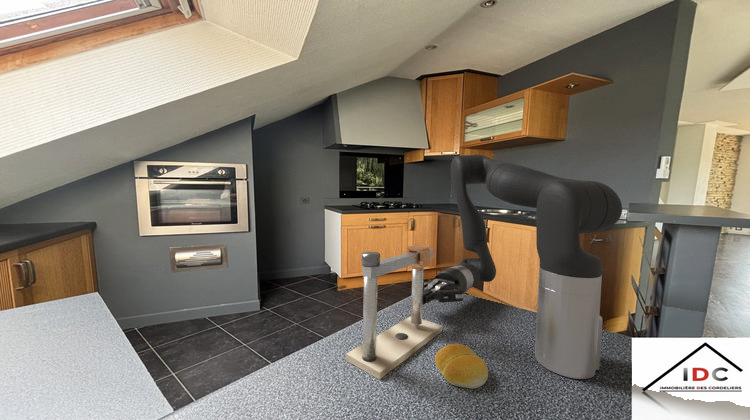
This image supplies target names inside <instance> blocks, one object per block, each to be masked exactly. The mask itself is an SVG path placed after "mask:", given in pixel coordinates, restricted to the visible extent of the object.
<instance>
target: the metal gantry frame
mask: <svg viewBox="0 0 750 420" xmlns="http://www.w3.org/2000/svg"><path fill="white" fill-rule="evenodd" d="M429 249H430V260H431V259H434V248H430V247H429ZM419 262H420V252H419V251H412V252H409V253H407V252H405V253H402V254H398V255H394V256H391V257H388V258H383V259H381V253H380V252H377V251H364V252H362V253H361V267H362V277H363V304H362V305H363V310H362V311H363V315H362V316H363V317H362V319H363V320H362V321H363V322H362V326H363V327H362V336H363V337H362V344H363V359H364V360H366V361H373V360H375V359H376V339H377V335H378V334H377V332H378V331H377V330H378V329H377V327H378V326H377V324H378V277H380V276H383V275H386V274H389V273H392V272H395V271H398V270H401V269H404V268H408V267H410V265H413V264H416V263H419Z"/></svg>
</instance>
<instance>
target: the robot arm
mask: <svg viewBox="0 0 750 420" xmlns="http://www.w3.org/2000/svg"><path fill="white" fill-rule="evenodd" d="M450 177H451V183H452V186H453V187H452V188H453V190H454V195H455V199H456V204H457V208H458V211H459V217H460V223H461V232H462V242H463V243H462V244H463V248H464V250H466V251H469V252H472V253H475V254H476V255H477V256H478V257H477V258H476V257H474V258H473V257H467V258H463V259H462V260H461V261H460V262H459V264H458V265H454V266H451V267H449V268H445V269H444V270H441V271H440V272H438V273H437V274H436V275H434V278H433V279H429V280H428V281H426V282H425V281H424V280H423V306H424V305H425V304H428V303H431V302H436V301H438V303H454V302H457V303H458V302H464V294H466V293H467V292H468V291H469V290H471V289H472V288H473V287H474V286H476V285H477V284H478V283H479V282H482V283H484V282H485V283H490V282H492V281H493V280H494V279H495V278H496V275H497V268H496V264H495V261H494V260H493V257H492V254H491V251H490V248H489V246H488V240H487V228H486V223H485V220H484V218H483V216H482V215H481V213H480V211H479V210H478V209H477V208H476V206H475V205H474V203H473V202H472V199H471V198H470V196H469V193H468V190H467V185H479V184H480V185H481V184H482V185H483V184H485V185H486V189H487V191H488V192H489V193H490V194H491V195H492V196H493V197H494V198H497V199H499V200H501V201H503V202H505V203H509V204H510V205H515V206H519V207H525V208H532V209H536V211H535V217H536V219H535V227H536V228H535V231H536V233H535V234H536V241H535V243H536V251H537V255H538V258H539V259H538V260H539V263H538V264H539V267H538V270H539V271H538V288H537V304H536V306H537V307H536V308H537V309H536V324H535V325H536V326H535V327H536V328H535V343H534V344H535V346H534V359H535V360H536V362H538V363H539V364H540V365H541V366H542V367H544V368H545V369H546V370H549V371H551V372H553V373H555V374H558V375H560V376H563V377H566V378H571V379H577V380H578V379H579V380H587V379H591V378H593V377H594V376H595V375H596V371H597V370H599V371H600V364H601V348H602V347H601V346H602V334H603V333H602V332H603V320H604V319H603V317H602V316H601V315H600V309H601V296H602V278H603V261H602V259H601V258H600V257H599V256H597V255H594V254H592V253H590V252H587V251H585V250H584V249H583V248H582V246H581V242H580V241H581V239H580V238H581V237H580V234H583V233H584V234H590V233H598V232H602V231H605V230H607V229H610V228H611V227H613V226H614V225H615V224H616V223H618V221H619V220H620V219H621V216H622V214H623V205H622V204H623V203H622V201H621V198H620V197H619V195H618V193H617V192H616V191H615V190H614V189H613V188H611V187H610V186H609V185H607V184H605V183H603V182H600V181H596V180H595V181H594V180H582V179H580V180H579V179H573V178H571V179H570V178H566V177H565V178H564V177H559V176H556V175H552V174H549V173H547V172H544V171H541V170H538V169H537V170H536V169H534V168H530V167H527V166H523V165H520V164H517V163H516V164H515V163H512V162H511V163H510V162H506V161H505V162H504V161H497V160H495V159H493V158H491V157H488V156H486V155H483V154H465V155H463V154H462V155H461V154H460V155H455V156H454V158H452V160H451V162H450Z"/></svg>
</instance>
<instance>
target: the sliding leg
mask: <svg viewBox="0 0 750 420" xmlns="http://www.w3.org/2000/svg"><path fill="white" fill-rule="evenodd" d="M429 248H430V246H424V245H417V244H414V245H409V246H407V247H406V253H409V252H412V251H419V252H420V262H419V263H416V264H413V265H410V266H411V267H412V269H411V271H412V272H411V273H412V275H411V310H410V311H411V313H410V316H411V323H413V324H414V326H419V325H420V324H422V319H423V306H424V305H423V281H424V270H425V269H424V268H425V267H428V266H430V263H431V259H430V249H431V248H430V249H429ZM410 266H409V267H410Z"/></svg>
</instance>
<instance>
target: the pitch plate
mask: <svg viewBox="0 0 750 420" xmlns="http://www.w3.org/2000/svg"><path fill="white" fill-rule="evenodd" d="M442 332H443V325H441V324H438V323H435V322H432V321H429V320H426V319H424V318H422V324H420V325H419V326H414V324H413V323H411V315H410V316H409V317H406V318H405V319H403V320H402V321H400V322H398V323H397V324H394V325H393V326H391V327H389V328H388V329H386V330H385V331H383V332H381V333H379V334H377V339H376V359H375V360H373V361H366V360H364V359H363V343H362V344H360V345H359V346H357V347H355V348H354V349H351V350H350V351H348V352H347V353H345V361H346V362H348V363H350V364H351V365H353V366H355V367H357V368H359V369H361V370H362V371H364V372H365V373H367V374H369V375H371V376H373V377H374V378H377V379H378V380H381V379H382V378H383V377H385V376H386V375H387V374H388V373H390V372H392V371H393V370H394V369H395V368H396V367H398V366H399V365H400V364H402V362H403V363H404V361H406V360H407V359H408V358H409V357H410V356H412V355H413V354H415V353H416V352H417V351H418V350H420V349H421V348H422V347H424V346H425V345H426V344H427V343H429V342H430V341H431V340H433V339H434V338H435V337H437V336H438V335H440V333H442Z"/></svg>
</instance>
